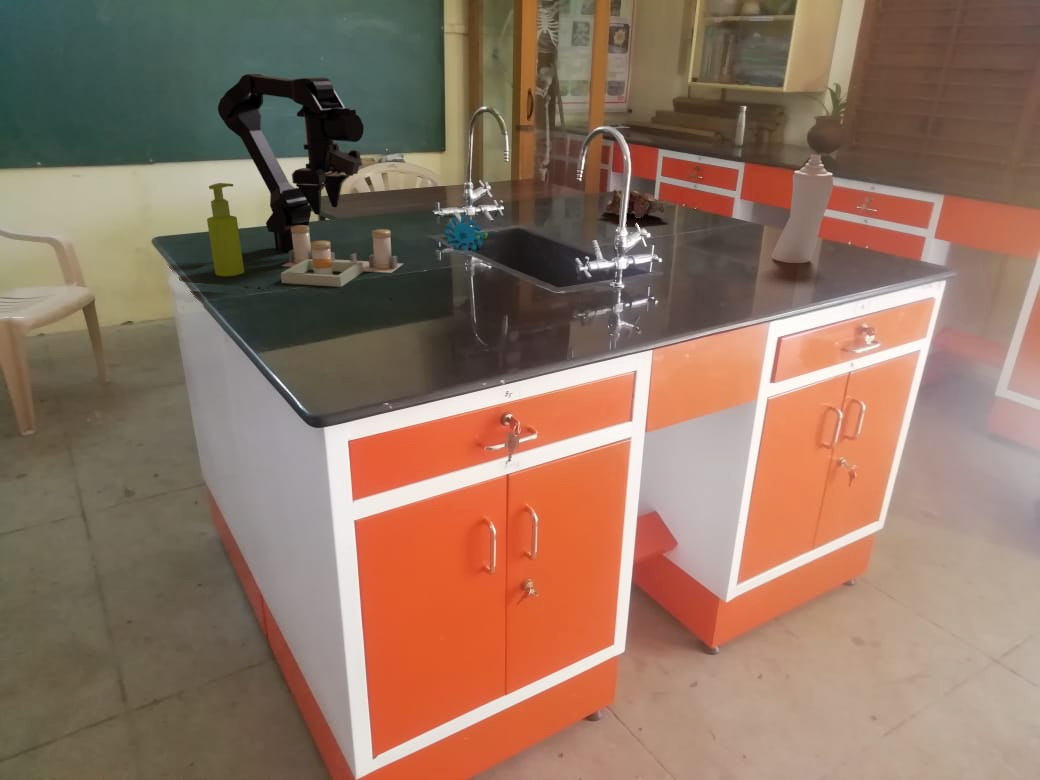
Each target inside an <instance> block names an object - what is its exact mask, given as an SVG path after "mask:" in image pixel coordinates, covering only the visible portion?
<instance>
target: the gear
mask: <svg viewBox="0 0 1040 780" xmlns="http://www.w3.org/2000/svg"><path fill="white" fill-rule="evenodd" d="M451 220H452V221H451V222H449V221H448V222H447V224H446V225H445V227H446V229H445V231H444V235H443V236H446V237H447V239H446V242H447V244H449V245H450V244H452V243H455V244H454V245H453V249H454V250H456V251H457V250H459V248H460V247H462V249H461V250H462V251H469V245H471V249H470V251H474V252H475V251H477V249H478V248H477V247H480V246H481V247H482V245H483V242H484V240H485V239H488V238H487V237H488V236H489V233H488V232H487V231H485V232H481V231H482V226H481V225H480V224H478V225H475V223H476V221H475V219H473V218H471V219H470V220H469V222H468V223H466V222H467V217H465V216H461V218H460V223H459V224H458V221H459V220H458V218H457V217H452V219H451ZM452 224H453V225H454V227H453V226H452ZM474 225H475V226H474ZM450 231H451V232H450ZM475 243H476V244H475ZM463 245H464V246H463Z"/></svg>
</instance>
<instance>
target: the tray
mask: <svg viewBox="0 0 1040 780" xmlns="http://www.w3.org/2000/svg"><path fill="white" fill-rule="evenodd" d="M308 271H314V268H313V260H312V259H306V260H304V261H302V262H300V263H298V264H297V265H295V266H293V267H289V268H288V269H285V270H284V271H282V272H281V273H280V279H281V284H293V285H308V286H309V285H311V286H324V287H325V286H327V287H339V288H342V287H343V286H344V285H346V284H348V283H349V282H351V281H352V280H353V279H355V278H356V277H357V276H359V275H361V274H362V273H364V271H363V263H362V262H346V261H332V272H337V273H338V272H340V273H339V274H333V275H324V274H314V273H307V272H308ZM282 290H284V291H285V290H286V291H295V292H296V291H299V292H311V293H312V292H313V293H316V292H317V293H330V294H340V295H342V294H343V293H344V292H343V291H334V290H333V291H329V290H317V289H303V288H301V289H300V288H285V287H282Z"/></svg>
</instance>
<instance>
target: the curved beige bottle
mask: <svg viewBox="0 0 1040 780" xmlns="http://www.w3.org/2000/svg"><path fill="white" fill-rule="evenodd" d="M821 158H822V155H821V154H816V153H815V154H810V158H809V159H808V162H806V163H805V165H804V167H801V168H800V170H795V171H794V174H793V175H792V192H791V195H792V196H791V204H790V215H789V219H788V220H787V222H786V224H785V227H784V229H783V231H782V233H781V235H780V237H779V239H778V241H777V243H776V245H775V247H774V250H773V252H772V255H771V259H773V260H775V261H777V262H781V263H788V264H805V263H809V262H810V260H811V258H812V256H813V254H814V252H815V250H816V246H817V242H818V238H819V235H820V234H819V233H820V229H821V225H822V220H823V218H824V216H825V213H826V209H827V206H828V205H829V202H830V199H831V196H832V193H833V192H834V177H833V173H832V172H829V171H827V169H825V168H824V167H825V164H822V163H823V162H822V160H821Z"/></svg>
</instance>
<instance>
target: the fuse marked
mask: <svg viewBox="0 0 1040 780" xmlns="http://www.w3.org/2000/svg"><path fill="white" fill-rule="evenodd" d="M310 245H311V252H312V260H313V268H314V270H313V274H324V275H334V274H333V272H334V271H332V259H331V252H332V251H331V247H332V246H331V241H329V240H314V241H310Z"/></svg>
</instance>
